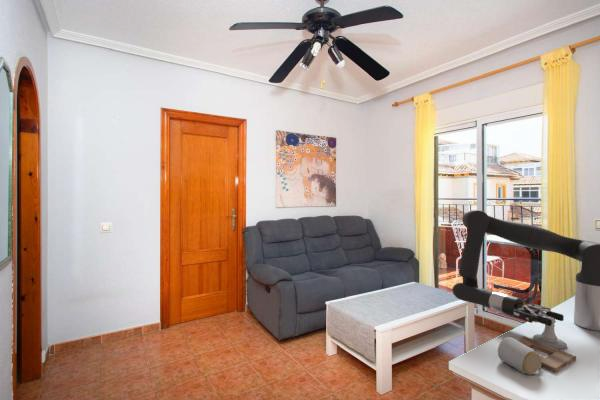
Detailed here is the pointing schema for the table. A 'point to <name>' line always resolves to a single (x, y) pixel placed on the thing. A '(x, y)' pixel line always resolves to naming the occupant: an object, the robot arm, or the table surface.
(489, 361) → the table surface
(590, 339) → the table surface
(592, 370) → the table surface
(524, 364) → the ceramic mug
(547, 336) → the rook chess piece
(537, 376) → the table surface
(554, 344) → the slate-grey pad
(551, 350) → the walnut frame
